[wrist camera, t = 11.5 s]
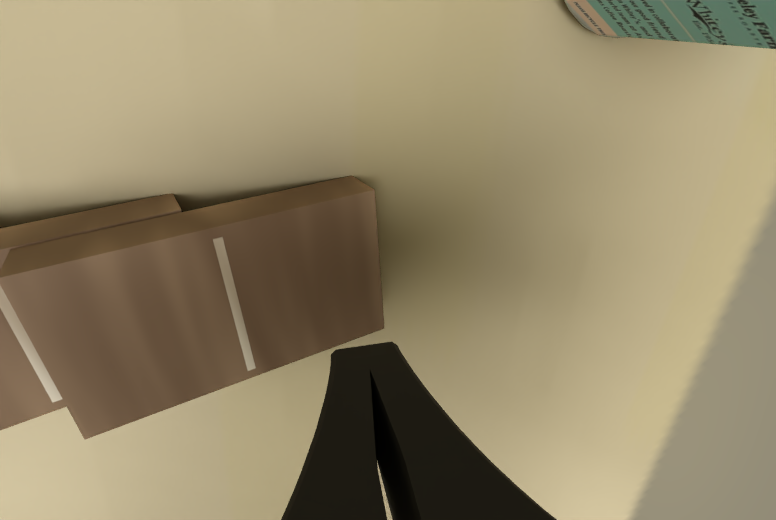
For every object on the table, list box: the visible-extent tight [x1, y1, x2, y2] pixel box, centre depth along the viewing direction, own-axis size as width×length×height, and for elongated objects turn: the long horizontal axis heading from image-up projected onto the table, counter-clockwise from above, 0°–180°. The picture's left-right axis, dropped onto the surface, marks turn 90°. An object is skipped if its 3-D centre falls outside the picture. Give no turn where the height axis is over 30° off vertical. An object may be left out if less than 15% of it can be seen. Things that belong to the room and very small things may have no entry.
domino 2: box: [0, 176, 384, 439], centre depth 13 cm, size 2×5×9 cm
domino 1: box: [0, 194, 182, 430], centre depth 12 cm, size 2×5×9 cm
